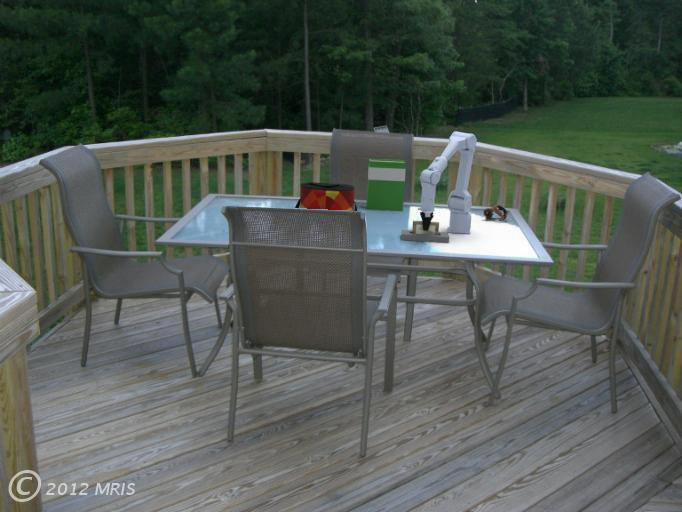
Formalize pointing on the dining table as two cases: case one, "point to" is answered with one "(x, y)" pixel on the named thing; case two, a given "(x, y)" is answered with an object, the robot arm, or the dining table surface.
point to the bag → (326, 196)
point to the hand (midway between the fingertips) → (425, 229)
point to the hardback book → (386, 184)
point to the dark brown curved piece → (489, 212)
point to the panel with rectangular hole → (425, 237)
